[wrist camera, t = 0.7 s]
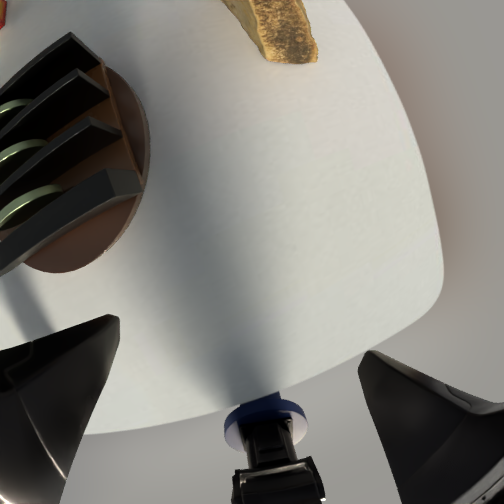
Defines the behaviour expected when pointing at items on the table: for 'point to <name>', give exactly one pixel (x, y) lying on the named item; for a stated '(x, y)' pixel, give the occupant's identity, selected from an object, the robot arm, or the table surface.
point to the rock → (277, 29)
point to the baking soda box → (2, 12)
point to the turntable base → (115, 219)
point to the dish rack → (59, 150)
